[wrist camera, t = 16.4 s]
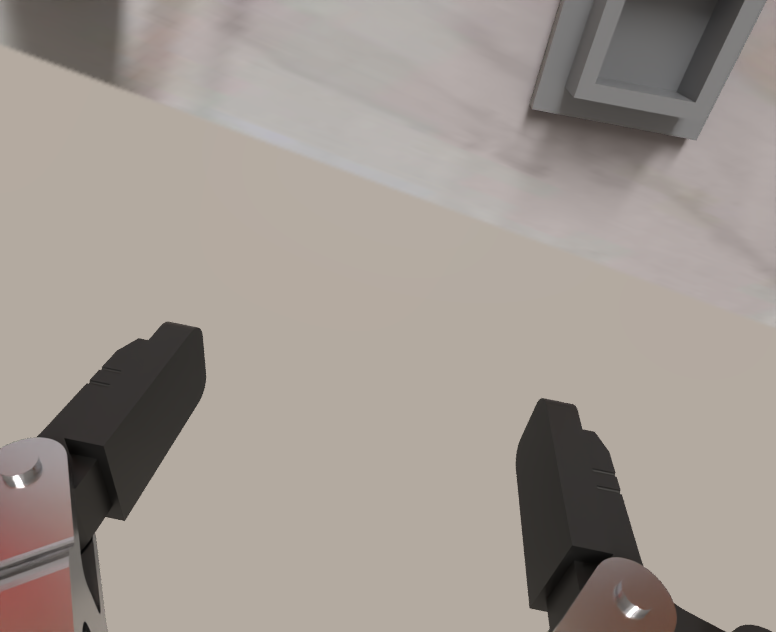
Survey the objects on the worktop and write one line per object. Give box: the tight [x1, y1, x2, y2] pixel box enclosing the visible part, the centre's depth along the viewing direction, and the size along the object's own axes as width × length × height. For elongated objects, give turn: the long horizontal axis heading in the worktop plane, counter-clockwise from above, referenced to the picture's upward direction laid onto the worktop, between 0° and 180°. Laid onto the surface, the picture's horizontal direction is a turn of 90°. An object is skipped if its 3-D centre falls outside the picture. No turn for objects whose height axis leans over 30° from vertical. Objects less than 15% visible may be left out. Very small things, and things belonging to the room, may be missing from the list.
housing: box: [530, 0, 767, 140], centre depth 32 cm, size 12×12×5 cm
